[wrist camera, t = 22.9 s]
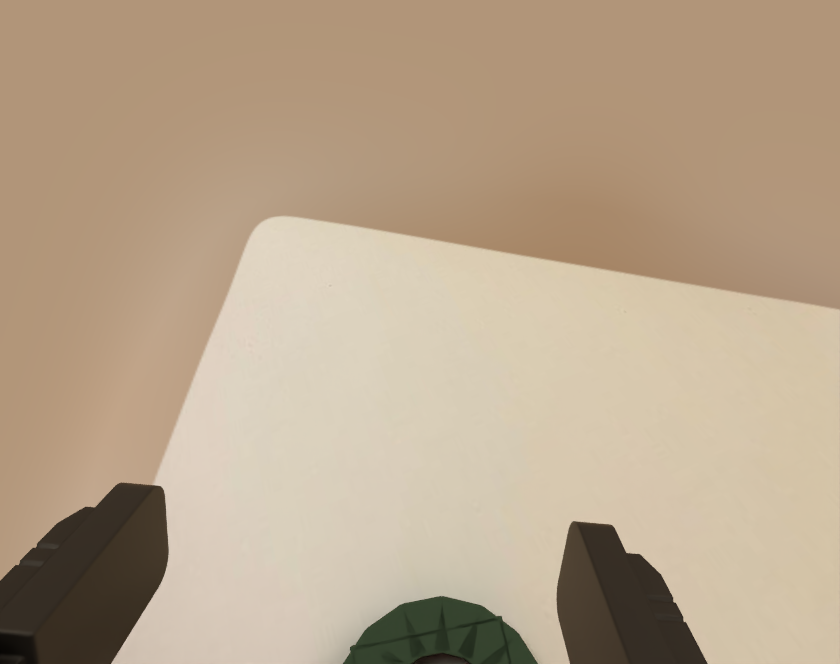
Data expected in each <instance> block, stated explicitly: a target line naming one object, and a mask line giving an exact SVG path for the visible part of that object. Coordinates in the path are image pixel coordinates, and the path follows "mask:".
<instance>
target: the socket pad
mask: <svg viewBox="0 0 840 664" xmlns="http://www.w3.org/2000/svg"><path fill="white" fill-rule="evenodd" d="M350 651H351V652H350V654H349V656H348V657H347V659H346V660H345V662H344V663H343V664H412V663H413V662H415V661H416V660H417V659H419V658H421V657H426V656H430V655H435V654H440V653H444V654H448V655H452V656H456V657H460V658H463V659H464V660H465V661H467V662H468V663H469V664H538V663H537V662H536V660H535V659H534V657H533V655H532V654H531V652H530V651H529V649H528V648H527V646H526V644H525V643H524V641H523V640H522V638H521V636H520V635H519V633H517V631H515V630H514V629H513V628H511V627H510V626H509V625H507V624H506V623H505V622H503V620H502V616H495V615H494V614H493V613H491V612H490V611H489V610H487V609H486V608H485V607H483V606H481V605H477V604H473V603H469V602H465V601H461V600H457V599H452V598H448V597H444V596H443V597H442V596H439V597H434V598H429V599H424V600H419V601H414V602H409V603H404V604H402V605H399V606H398V607H397V608H395V609H394V610H392V611H391V612H389V613H388V614H387V615H385V616H384V617H382V618H381V619H380V620H378V621H377V622H375V623H374V624H372V625H371V626H370V627H368V628H367V629H366V630H365V631H364V633H363V634H362V636H361V637H360V639H359V640H358V642H357V643H356V645H353V646H351V647H350Z"/></svg>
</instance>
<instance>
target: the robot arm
mask: <svg viewBox="0 0 840 664" xmlns="http://www.w3.org/2000/svg"><path fill="white" fill-rule="evenodd" d="M168 553H169V551H168V535H167V520H166V505H165V494H164V490H163V488H162V487H161V486H154V485H143V484H132V483H119V484H117V485H116V486H115V487H114V488H113V489H112V490H111V491H110V492H109V493H108V494H107V495H106V496H105V497H104V499H103V500H102V501H101V502H100V503H99V504H98V505H97V506H96V507H95V508H93V507H85V508H83V509H81V510H79V511H78V512H76V513H74V514H72V515H71V516H69V517H67V518H65V519H64V520H62V521H60V522H59V523H57V524H56V525H55V526H54V527H53V528H52V529H51V530H50V531H49V532H48V533H47V534H46V535H45V536H44V537H43V538H42V539H41V540H40V541H39V542H38V544H37V547H36V548H32V549H31V550H30V551H29V552H28V553H27V554H26V555H25V556H24V557H23V558H22V559H21V560H20V564H19V565H15V566H14V567H13V568H12V569H11V570H10V571H9V572H8V574H7V575H6V576H5V577H4V578H3V579H2V580H1V581H0V664H111V663H112V661H113V659H114V658H115V656H116V655H117V653H118V651H119V650H120V648H121V647H122V645H123V643H124V642H125V640H126V639H127V637H128V635H129V634H130V632H131V631H132V629H133V627H134V626H135V624H136V622H137V621H138V619H139V618H140V616H141V614H142V613H143V611H144V610H145V608H146V606H147V605H148V603H149V602H150V600H151V598H152V597H153V595H154V594H155V592H156V590H157V589H158V587H159V585H160V584H161V581H162V579H163V577H164V574H165V571H166V567H167V562H168ZM557 611H558V618H559V622H560V626H561V630H562V634H563V637H564V641H565V645H566V649H567V653H568V657H569V661H570V664H707V662H706V660H705V658H704V656H703V654H702V652H701V650H700V648H699V646H698V645H697V643H696V641H695V639H694V637H693V635H692V633H691V631H690V629H689V627H688V625H687V623H686V622H684V621H683V616H682V614H681V612H680V610H679V608H678V606H677V604H676V603H674V602H673V597H672V595H671V593H670V591H669V589H668V587H667V585H666V583H665V581H664V579H663V578H662V576H661V574H660V573H659V572H658V571H657V570H656V569H655V568H654V567H652V566H651V565H650V564H649V563H648V562H647V561H646V560H645V559H644V558H643V557H642V556H641V555H640V554H630V553H626V551H625V549H624V547H623V545H622V543H621V541H620V539H619V536H618V534H617V532H616V530H615V528H614V527H613V526H612V525H609V524H597V523H586V522H575V521H573V522H572V523H571V525H570V527H569V531H568V535H567V540H566V545H565V550H564V555H563V560H562V565H561V570H560V575H559V580H558V586H557Z"/></svg>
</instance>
